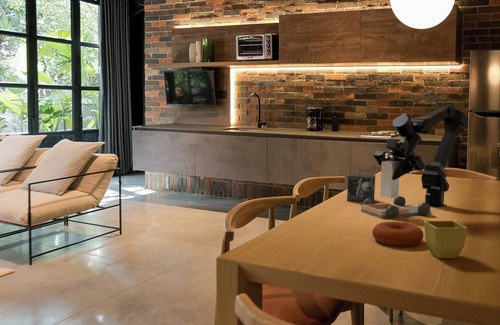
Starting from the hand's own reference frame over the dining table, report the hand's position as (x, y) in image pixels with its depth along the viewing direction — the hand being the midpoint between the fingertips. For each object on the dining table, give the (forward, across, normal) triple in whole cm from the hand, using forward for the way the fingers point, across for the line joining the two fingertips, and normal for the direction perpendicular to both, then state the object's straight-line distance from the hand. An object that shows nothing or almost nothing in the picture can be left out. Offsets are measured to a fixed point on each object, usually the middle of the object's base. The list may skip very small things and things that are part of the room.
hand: (387, 178), depth 202 cm
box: (0, -23, +20) cm, 31 cm away
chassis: (+4, -1, +14) cm, 15 cm away
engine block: (+4, 0, +6) cm, 7 cm away
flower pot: (+30, +40, -11) cm, 51 cm away
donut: (+28, +23, -9) cm, 37 cm away
